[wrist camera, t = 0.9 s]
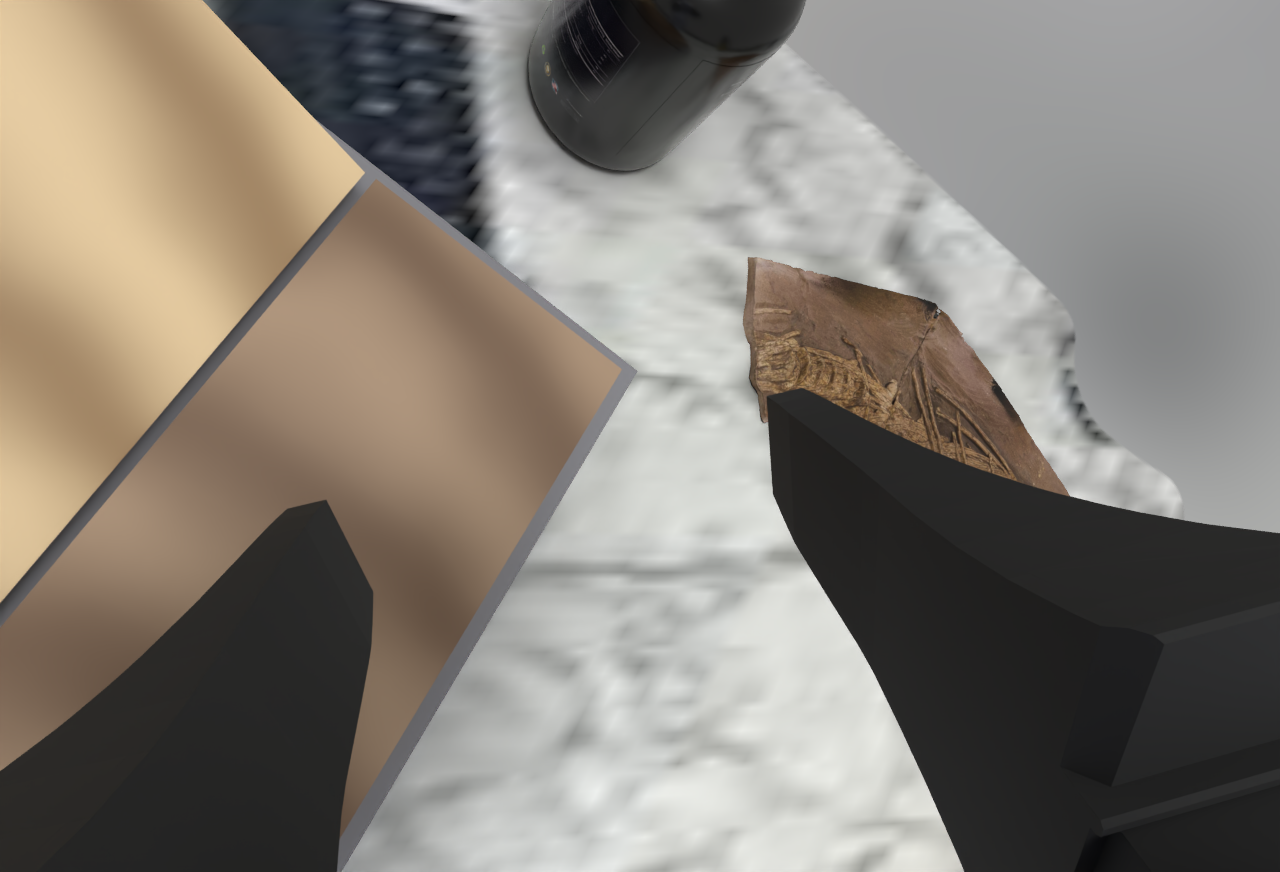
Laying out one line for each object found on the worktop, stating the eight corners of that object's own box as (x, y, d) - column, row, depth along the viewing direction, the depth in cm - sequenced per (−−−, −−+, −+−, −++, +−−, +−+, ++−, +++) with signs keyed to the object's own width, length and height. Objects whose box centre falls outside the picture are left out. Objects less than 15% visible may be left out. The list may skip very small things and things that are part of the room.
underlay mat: (275, 970, 21) (275, 982, 20) (-880, 581, 13) (-928, 584, 13) (630, 373, 28) (637, 371, 27) (18, -102, 20) (11, -118, 20)
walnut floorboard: (265, 933, 20) (264, 964, 19) (-127, 795, 17) (-162, 820, 16) (604, 376, 27) (622, 369, 25) (370, 197, 23) (376, 178, 22)
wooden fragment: (689, 370, 30) (703, 365, 29) (786, 178, 33) (801, 168, 32) (1046, 635, 38) (1065, 638, 38) (1093, 462, 42) (1111, 460, 41)
